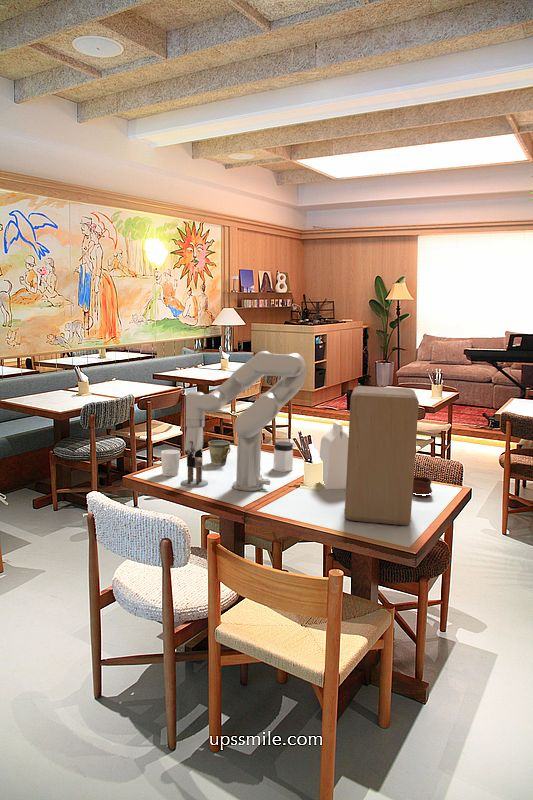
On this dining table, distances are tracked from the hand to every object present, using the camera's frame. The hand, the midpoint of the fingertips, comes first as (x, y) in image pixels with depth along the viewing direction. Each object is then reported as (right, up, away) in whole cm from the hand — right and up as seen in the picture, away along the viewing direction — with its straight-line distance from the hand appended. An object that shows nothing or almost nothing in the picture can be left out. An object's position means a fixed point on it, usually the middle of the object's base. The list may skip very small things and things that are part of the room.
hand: (194, 463), depth 251 cm
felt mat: (0, -8, +1) cm, 8 cm away
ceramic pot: (+91, -13, -4) cm, 92 cm away
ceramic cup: (+8, -4, +33) cm, 34 cm away
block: (+69, -15, -29) cm, 76 cm away
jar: (+37, -6, +27) cm, 46 cm away
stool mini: (0, -8, +1) cm, 8 cm away
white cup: (-12, -6, +14) cm, 19 cm away
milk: (+58, -9, +6) cm, 59 cm away
